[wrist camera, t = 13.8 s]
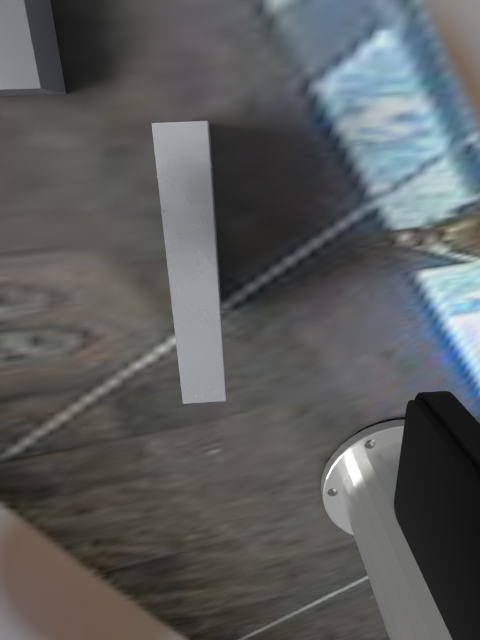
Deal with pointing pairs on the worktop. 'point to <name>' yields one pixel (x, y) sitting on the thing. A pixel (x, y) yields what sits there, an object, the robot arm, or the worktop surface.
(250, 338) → the worktop surface
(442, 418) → the robot arm
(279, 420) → the worktop surface
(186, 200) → the cover plate
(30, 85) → the slot holder
